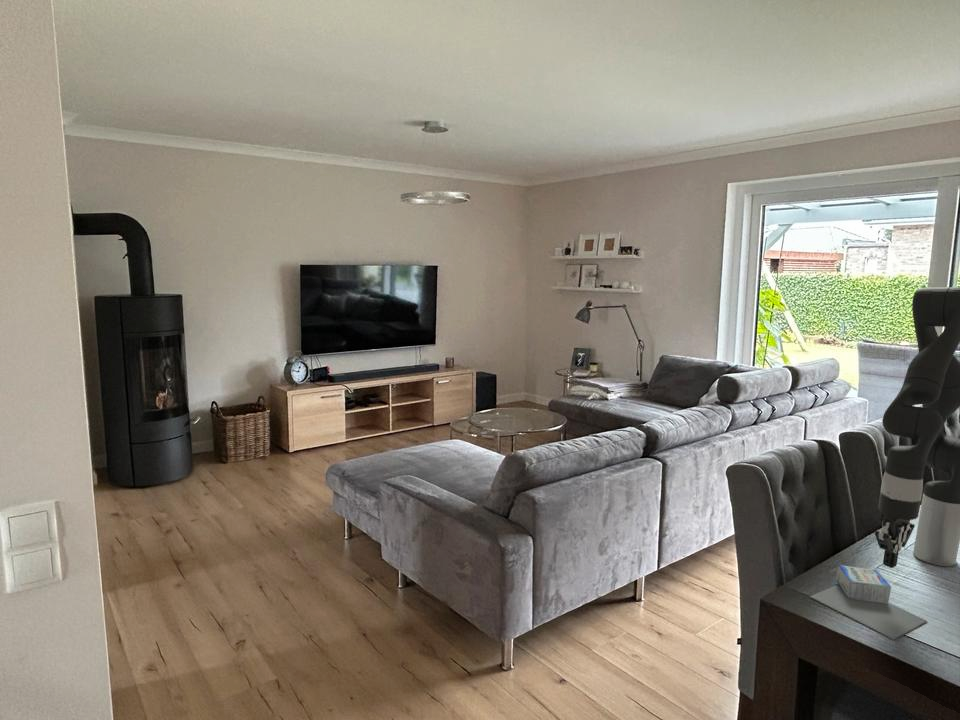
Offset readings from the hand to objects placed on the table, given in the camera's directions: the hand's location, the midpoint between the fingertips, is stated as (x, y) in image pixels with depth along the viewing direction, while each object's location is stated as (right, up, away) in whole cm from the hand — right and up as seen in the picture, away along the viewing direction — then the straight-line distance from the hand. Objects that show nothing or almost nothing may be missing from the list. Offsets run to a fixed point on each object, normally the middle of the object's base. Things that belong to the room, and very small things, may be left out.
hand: (889, 565), depth 141 cm
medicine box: (+1, -6, +4) cm, 7 cm away
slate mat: (-6, -9, -2) cm, 11 cm away
